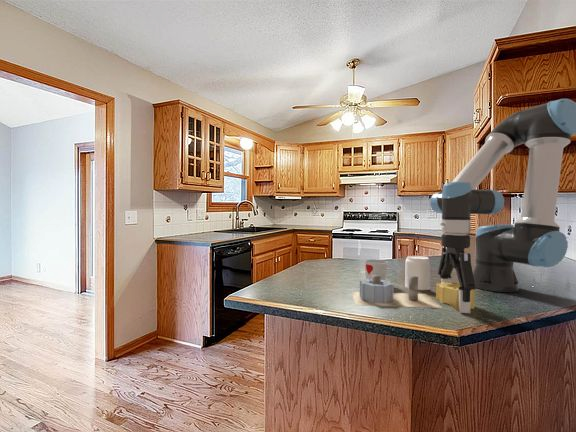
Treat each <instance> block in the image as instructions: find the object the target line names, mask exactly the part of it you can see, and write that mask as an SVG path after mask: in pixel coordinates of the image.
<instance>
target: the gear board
mask: <svg viewBox="0 0 576 432" xmlns="http://www.w3.org/2000/svg"><path fill="white" fill-rule="evenodd" d="M372 284H381V276H380V275H372ZM350 293H351V296H352V298H353V301H354V305H355V306H371V307H372V306H374V307H375V306H378V307H405V308H409V307H411V308H433V309H434V308H437V309H439V308H440V309H443V306H441V304H439V303H438V302H436V301H435V300H434V299H433V298H432V297H431V296H429V295H428V294H427V293H419V290H418V277H417V276H409V288H408V293H406V292H405V293H403V292H393V301H389V302H387V303H371V302H369V301H366V300H361V297H360V291H350Z"/></svg>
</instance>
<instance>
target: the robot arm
mask: <svg viewBox="0 0 576 432" xmlns="http://www.w3.org/2000/svg"><path fill="white" fill-rule="evenodd" d="M572 135H576V102H575V101H574V100H571V99H570V98H560V99H557V100H556V99H555V100H551V101H548V102H546V103H542V104H539V105H536V106H535V105H534V106H532V107H529V108H526V109H521V110H518V111H516V112H514V113H512V114H510V115H509V116H508V117H506V118H505V119H504V120H502V121H501V122H500V123H498V124H497V125H496V126H495V127H494V128H493V129H492V130H491V131H490V132H489V134H488V135H487V136H486V138H484V139H485V140H484V144H483V145H482V146H481V147H480V148H479V150H478V151H477V152H476V153H475V154H474V156H473V157H472V158H471V159H470V160H469V162H467V163H466V165H465V166H464V167H463V169H462V170H461V171H460V172H459V173H458V174H457V175H456V176H455V178H454V179H453V180H452V181H449V182H445V183H444V184H443V185H442V191H438V192H435V193H434V194H432V195H431V197H430V201H429V202H430V203H429V204H430V207H431V210H433V211H434V212H435V213H438V214H439V213H440V214H441V222H440V226H441V232H442V234H441V241H440V242H441V247H442V249H441V257H440V261H439V267H438V272H437V274H438V275H439V277H440V278H441V279H440V283H441V282H445V283H452V272H453V270H454V269H455V271H456V275H457V278H458V284H460V287H459V288H458V289H459V310H458V312H459V313H461V314H471V309H470V297H471V290H474V291H475V290H476V289H481V290H485V291H490V292H499V293H515V292H518V291H519V290H520V284H519V280H518V278H517V275H516V272H515V270H514V263H516V264H520V265H521V264H522V265H528V266H532V267H538V268H539V267H541V268H552V267H555V266H557V265H558V264H559V263H561V261H562V260H563V259H564V258H565V256H566V254H567V251H568V245H569V243H568V240H567V239H568V237H567V236H566V235H565V233H563V232H561V231H560V230H561V229H560V227H561V226H560V225H559V224H558V223H557V222H556V221H555V217H556V210H557V201H558V194H559V186H560V178H561V169H562V164H563V163H562V162H563V153H564V148H566V147H567V146H568V145H569V144H571V142H572V141H571V139H572ZM523 144H524V146H525V147H528V148H527V149H529V151H528V153H529V155H528V158H527V159H528V160H527V168H526V176H525V182H524V183H525V185H524V192H523V197H522V198H523V201H522V207H521V215H520V218H519V219H518V220H516V221H515V222H514V225H513V224H494V225H491V224H490V225H482V226H479V227H477V228H476V230H475V231H476V234H475V265H474V268H473V267H472V262H471V261H472V259H471V253H467V252H466V253H465V249H469V248H470V247H471V236H470V235H469V234H470V233H471V226H472V225H471V223H472V222H471V221H472V220H471V218H472V217H471V215H492V214H493V215H494V214H497V213H499V212H501V211H502V210H503V208H504V206H505V197H504V196H503V194H502V193H501V192H500V191H498V190H495V189H494V190H493V189H489V188H488V189H477V187H479V185H480V184H481V183H482V182H483V180H484V179H485V178H486V177H487V175H489V173H490V172H491V171H492V170H493V169H494V167H495V166H496V165H497V164H498V162H499V161H500V160H501V159H502V158H503V157H504V156H505V155H506V154H510V153H511V152H512V151H513V150H514V148H515V147H517V146H520V145H523Z"/></svg>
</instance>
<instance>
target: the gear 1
mask: <svg viewBox="0 0 576 432" xmlns="http://www.w3.org/2000/svg"><path fill="white" fill-rule="evenodd" d="M394 286H395V285H394V283H392V281H390V280H386V281H385V280H381V284H372V279H366V278H365V279H364V280H362V279H361V280H359V292H360V297H361V300H366V301H369V302H371V303H387V302H389V301H393V293H394Z"/></svg>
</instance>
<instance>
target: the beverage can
mask: <svg viewBox="0 0 576 432" xmlns="http://www.w3.org/2000/svg"><path fill="white" fill-rule="evenodd" d="M404 263H405V266H404V268H405V270H404V272H405V273H404V274H405V275H404V276H405V277H404V278H405V280H404V286H405V288H407V289H409V276H417V277H418V291H427V290H429V291H430V290H431V260H430V257H427V256H423V255H422V256H420V255H407V256H406V259H405V262H404Z"/></svg>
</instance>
